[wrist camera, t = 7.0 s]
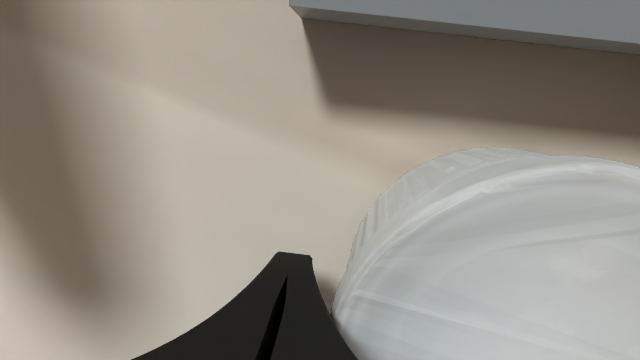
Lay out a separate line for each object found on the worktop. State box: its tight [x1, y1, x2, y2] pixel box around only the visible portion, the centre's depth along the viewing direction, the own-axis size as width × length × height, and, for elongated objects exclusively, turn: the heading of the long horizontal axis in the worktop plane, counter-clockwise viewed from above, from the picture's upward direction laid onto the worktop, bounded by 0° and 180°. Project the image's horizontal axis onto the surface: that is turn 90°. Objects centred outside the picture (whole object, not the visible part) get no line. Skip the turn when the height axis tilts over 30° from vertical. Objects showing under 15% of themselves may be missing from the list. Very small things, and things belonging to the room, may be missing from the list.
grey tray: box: [289, 0, 640, 55], centre depth 13 cm, size 19×16×3 cm
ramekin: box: [330, 147, 640, 360], centre depth 12 cm, size 11×11×5 cm
